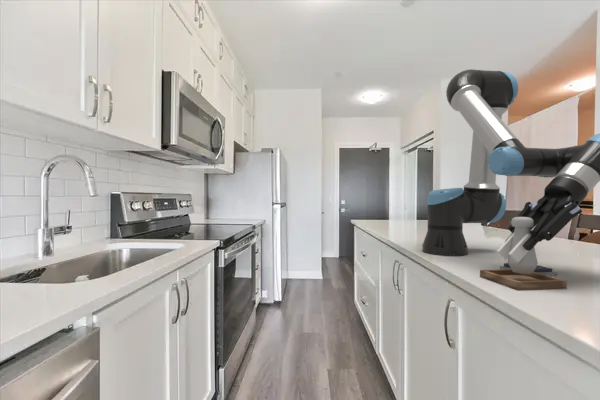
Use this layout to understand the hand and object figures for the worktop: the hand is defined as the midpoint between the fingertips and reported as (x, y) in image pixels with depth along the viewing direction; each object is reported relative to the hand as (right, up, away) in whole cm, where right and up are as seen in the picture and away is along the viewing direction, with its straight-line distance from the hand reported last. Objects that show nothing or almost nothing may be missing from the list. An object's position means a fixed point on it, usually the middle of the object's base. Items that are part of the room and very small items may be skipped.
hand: (507, 256), depth 76 cm
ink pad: (+13, -6, +12) cm, 19 cm away
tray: (+4, -6, +1) cm, 7 cm away
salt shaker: (+4, -4, +1) cm, 6 cm away
